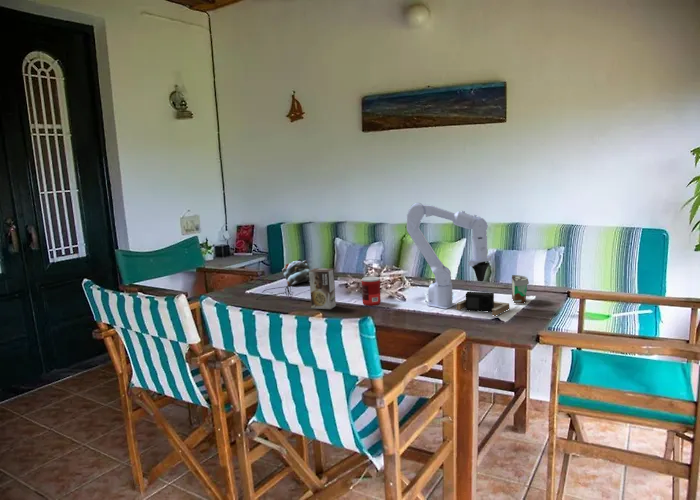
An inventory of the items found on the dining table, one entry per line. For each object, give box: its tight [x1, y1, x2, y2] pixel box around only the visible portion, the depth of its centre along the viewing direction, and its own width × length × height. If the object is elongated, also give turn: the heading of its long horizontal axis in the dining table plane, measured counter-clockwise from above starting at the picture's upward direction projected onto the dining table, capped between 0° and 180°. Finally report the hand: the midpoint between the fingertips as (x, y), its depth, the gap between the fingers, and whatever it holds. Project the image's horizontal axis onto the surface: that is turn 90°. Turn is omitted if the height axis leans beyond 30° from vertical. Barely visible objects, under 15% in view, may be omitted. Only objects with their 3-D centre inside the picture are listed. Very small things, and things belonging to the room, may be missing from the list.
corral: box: [456, 299, 510, 317], centre depth 208 cm, size 17×11×3 cm, turn 46°
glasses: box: [256, 283, 292, 300], centre depth 248 cm, size 14×15×5 cm
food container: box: [511, 274, 530, 304], centre depth 218 cm, size 12×6×10 cm, turn 168°
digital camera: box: [465, 291, 495, 313], centre depth 208 cm, size 10×5×7 cm, turn 68°
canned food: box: [361, 276, 382, 307], centre depth 225 cm, size 8×8×11 cm
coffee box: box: [309, 267, 337, 310], centre depth 222 cm, size 9×6×16 cm
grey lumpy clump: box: [281, 258, 312, 287], centre depth 271 cm, size 15×12×14 cm
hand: (480, 280), depth 213 cm, fingers closed
